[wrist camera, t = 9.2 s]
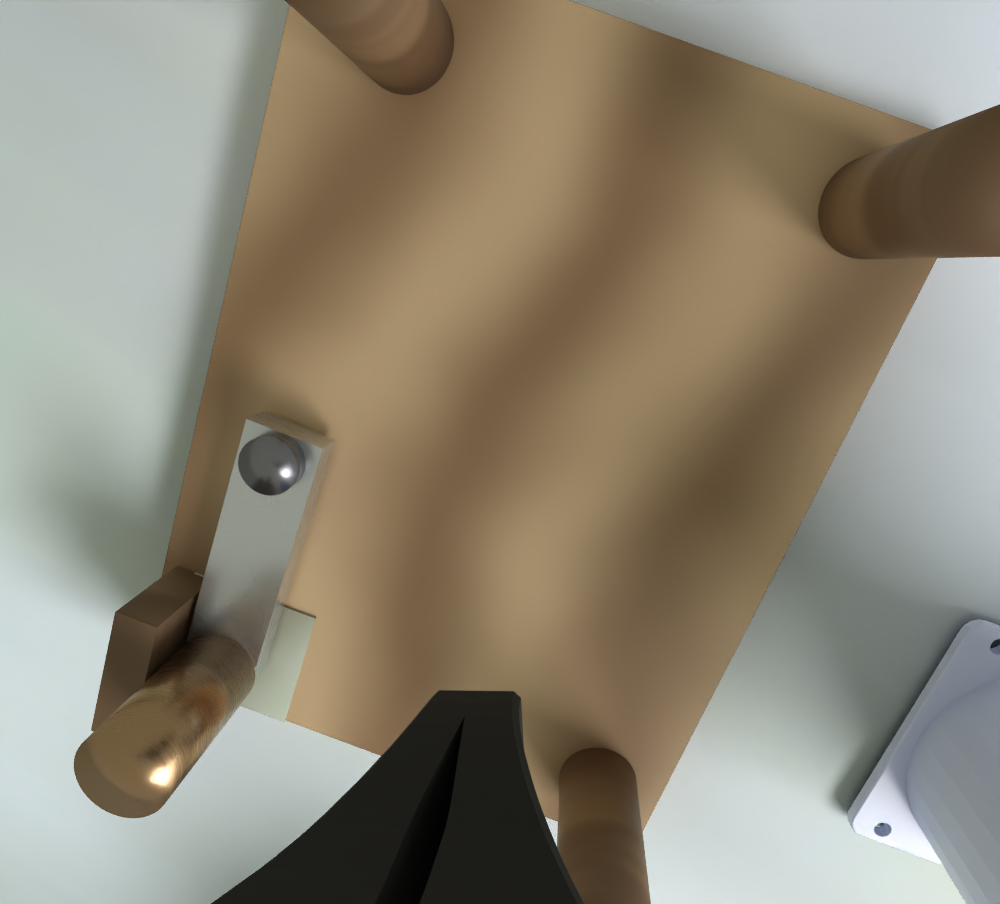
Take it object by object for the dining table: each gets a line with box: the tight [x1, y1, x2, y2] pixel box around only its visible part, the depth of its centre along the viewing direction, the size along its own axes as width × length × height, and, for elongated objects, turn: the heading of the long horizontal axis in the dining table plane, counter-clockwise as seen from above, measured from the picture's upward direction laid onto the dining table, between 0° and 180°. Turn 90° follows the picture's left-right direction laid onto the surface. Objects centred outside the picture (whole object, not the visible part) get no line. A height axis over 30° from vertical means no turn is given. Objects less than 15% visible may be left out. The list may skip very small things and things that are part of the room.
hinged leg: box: [74, 411, 335, 818], centre depth 18 cm, size 9×2×6 cm, turn 160°
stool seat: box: [91, 0, 1000, 904], centre depth 17 cm, size 17×22×7 cm
